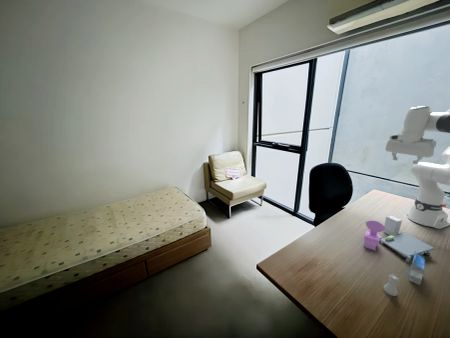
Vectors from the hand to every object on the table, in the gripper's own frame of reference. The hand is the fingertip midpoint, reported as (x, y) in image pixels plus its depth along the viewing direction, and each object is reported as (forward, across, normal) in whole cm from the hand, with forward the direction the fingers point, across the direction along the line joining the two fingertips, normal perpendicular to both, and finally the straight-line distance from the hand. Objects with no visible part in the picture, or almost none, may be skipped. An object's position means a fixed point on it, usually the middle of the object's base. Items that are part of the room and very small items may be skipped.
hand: (404, 161), depth 105 cm
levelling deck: (+42, -14, +18) cm, 48 cm away
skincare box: (+46, -4, +3) cm, 46 cm away
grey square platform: (+45, -15, +10) cm, 49 cm away
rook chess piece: (+46, -28, +45) cm, 70 cm away
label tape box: (+46, -27, +27) cm, 59 cm away
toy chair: (+46, -6, +24) cm, 52 cm away
